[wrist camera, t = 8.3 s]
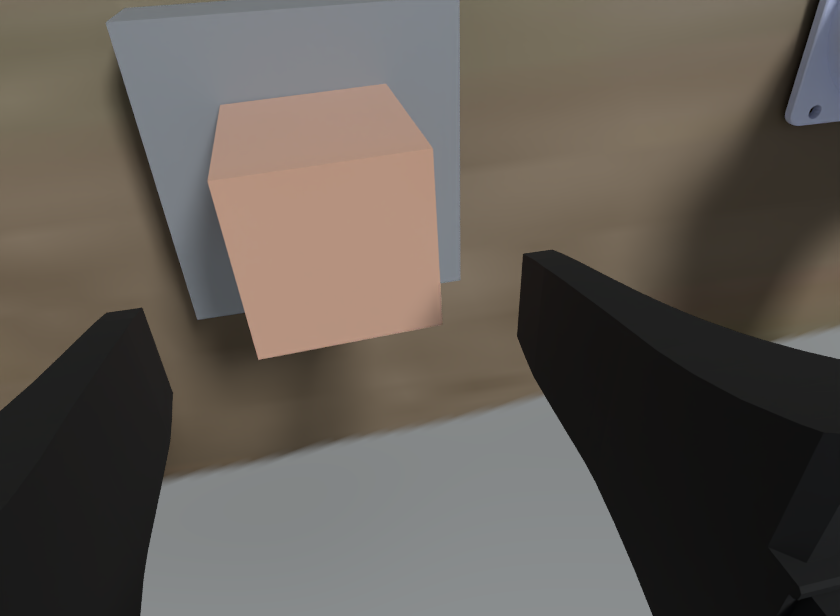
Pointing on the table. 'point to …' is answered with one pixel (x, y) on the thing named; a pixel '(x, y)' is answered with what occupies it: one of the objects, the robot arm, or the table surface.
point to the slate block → (271, 78)
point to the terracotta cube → (327, 217)
